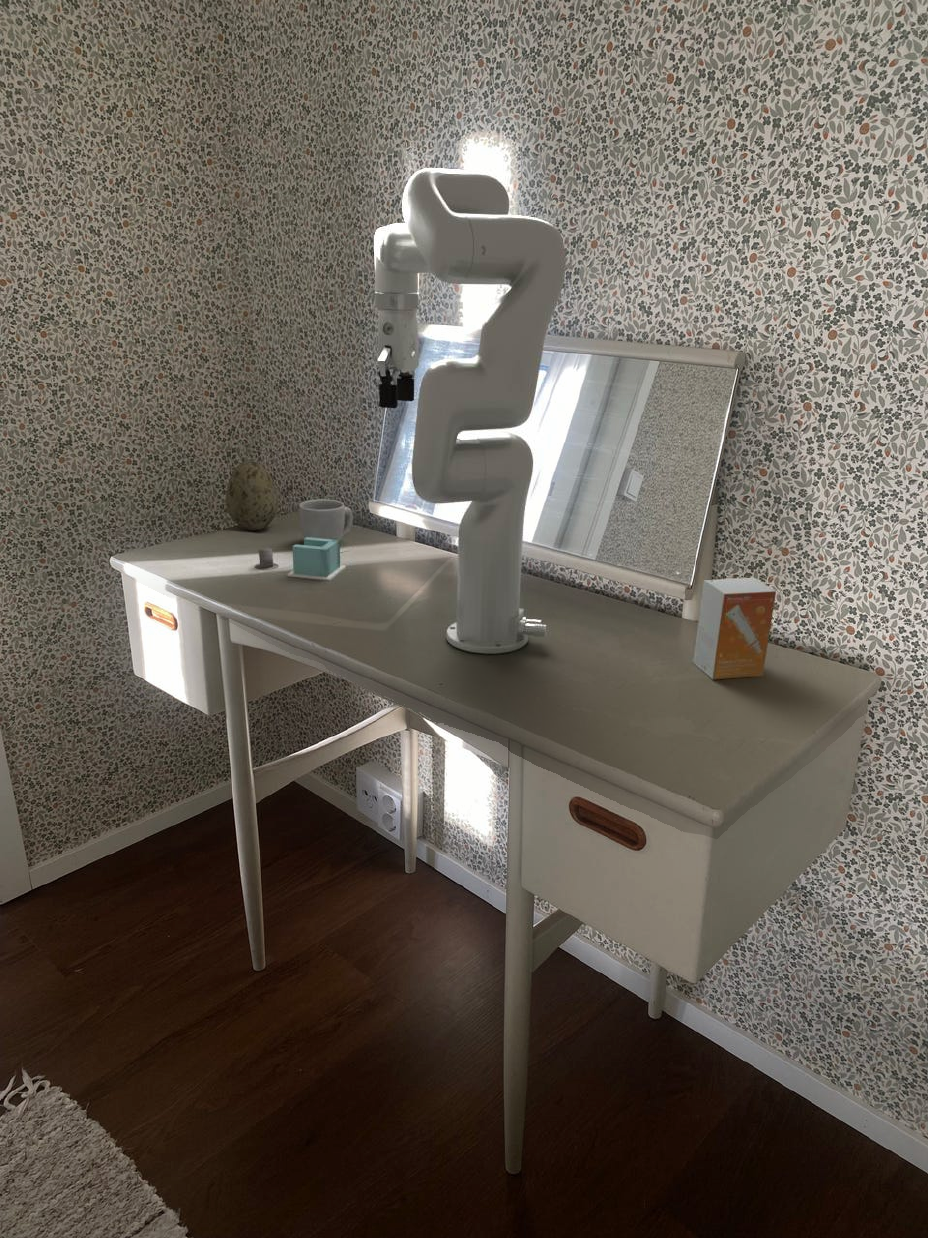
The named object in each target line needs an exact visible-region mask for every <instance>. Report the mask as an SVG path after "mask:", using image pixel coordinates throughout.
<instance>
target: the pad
mask: <svg viewBox="0 0 928 1238" xmlns="http://www.w3.org/2000/svg"><path fill="white" fill-rule="evenodd" d="M346 568H347V565H344V564H340V567H339V568H338V569H337V570H335V571H334V572H333V573H331V574H330V575H329V576H328V577H323V576H314V575H304V574H295V573H294V572H293V570H291V571H290V572H289V573H287V577H293V578H304V579H312V580H320V581H321V580H322V581H328V582H329V581H331V580H332V579H334V578H335V577H336V576H337V575H339V574H340V573H341V572H342V571H344V570H345V569H346Z"/></svg>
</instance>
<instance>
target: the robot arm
mask: <svg viewBox="0 0 928 1238" xmlns="http://www.w3.org/2000/svg"><path fill="white" fill-rule="evenodd" d="M403 191H404V192H403V197H402V216H403V219H404V223H392V224H389V225H387V226H382V227H379V228H377V229H376V231H375V234H374V291H375V292H374V295H375V296H374V301H375V302H374V303H375V304H374V305H375V306H374V308H375V313H378V325H377V367H378V370H377V371H378V372H377V375H378V396H379V397H378V398H379V400H378V401H379V402H378V403H379V405H378V406H379V407H380V408H382V409H383V408H384V409H397V408H398V405H399V404H398V402H399V401H400V402H413V401H415V374H416V373H415V370H416V369H417V368H419V365H420V353H419V352H420V349H419V332H418V331H419V330H418V329H419V328H418V319H417V318H418V317H417V314H419V305H420V304H419V301H420V300H419V299H420V298H419V297H420V296H419V291H420V290H419V289H420V288H419V287H420V285H419V283H420V282H419V281H420V280H419V279H420V274H423V275H424V274H427V275H428V274H429V275H431V274H432V275H433V276H434V277H435V278H436V279H438V280H440V281H441V282H443V283H446V284H453V285H508V286H509V288H508V290H506V291H505V293H503V294H502V295H501V296H500V297H499V298H498V299H497V301H496V302H495V303H494V304H493V306H492V307H491V308H490V310H489V312H488V313H487V314H486V316H485V318H484V320H483V322H482V326H481V331H480V339H479V347H478V351H477V353H476V354H475V356H474V357H472V358H451V359H448V358H447V359H443V360H438V361H436V362H435V363H434V362H433V364H431V365H430V366H429V367H428V368H427V370H425V373H424V374H423V377H422V379H421V383H420V387H419V393H418V398H417V409H416V417H415V428H414V438H413V446H412V447H413V448H412V459H411V477H412V479H411V480H412V485H413V488H414V491H415V492H416V495H417V496H418V497H419V498H420V499H421V500H423V501H424V502H426V503H430V504H450V503H451V504H453V503H465V502H470V504H469V505H468V506H467V509H466V510H465V512H464V514H463V516H462V518H461V520H460V523H459V527H458V537H457V538H458V541H457V542H458V544H457V583H456V584H457V587H456V591H457V592H456V593H457V594H456V621H455V622H454V623H452V624H450V625H449V627H447V628H446V640H447V642H448V643H449V644H450V645H451V646H453V647H455V648H457V649H460V650H462V651H466V652H470V653H475V654H476V653H477V654H487V655H488V654H490V655H491V654H493V655H494V654H495V655H496V654H505V653H509V652H513V651H517V650H520V649H521V648H523V647H524V646H525V645H527V643H528V641H529V636H532V637H539V638H546V636H547V632H548V629H547V628H548V625H547V624H542V619H533V618H532V619H531V618H530V619H529V618H528V617H527V616H524V614H525V611H524V610H525V609H524V608H521V607H520V602H521V601H520V600H521V598H520V597H521V581H522V580H521V579H522V578H521V577H522V559H523V557H522V556H523V555H522V554H523V539H524V538H523V537H524V522H525V514H526V513H525V510H526V505H527V504H526V503H527V498H528V494H529V490H530V487H531V480H532V476H533V471H534V457H533V452H532V449H531V447H530V445H529V444H528V442H527V441H526V440H525V439H524V438H523V437H521V436H519V435H517V434H513V433H510V432H504V431H495V430H504V429H505V430H506V429H511V428H512V429H513V428H517V427H519V426H522V425H523V424H524V423H526V422H527V420H529V417H530V416H531V413H532V411H533V410H532V409H533V405H534V402H535V396H536V389H537V386H538V380H539V373H540V368H541V362H542V358H543V350H544V347H545V346H544V345H545V344H544V343H545V339H546V335H547V330H548V329H549V325H550V322H551V320H552V316H553V314H554V311H555V309H556V307H557V304H558V302H559V299H560V296H561V293H562V289H563V286H564V282H565V276H566V275H565V274H566V265H567V264H566V263H567V260H566V259H567V258H566V249H565V243H564V241H563V237H562V236H561V233H560V232H559V230H558V229H557V228H556V227H555V225H552V224H551V223H550V222H548V221H546V220H544V219H541V218H536V217H532V216H525V215H514V214H509V212H510V209H511V201H510V200H511V199H510V195H509V193H508V190H507V188H506V185H504V183H503V182H502V181H501V180H500V179H499V178H498V177H495V175H492V174H490V173H487V172H484V171H478V170H477V171H476V170H467V169H466V170H465V169H464V170H463V169H450V168H439V167H438V168H436V167H435V168H434V167H429V168H427V167H426V168H423V169H420V170H418V171H416V172H415V173H414V174H413V175H412V176H411V177H410V178H409V179H408V182H407V183H406V185H405V188H404V190H403ZM491 430H492V431H491ZM472 431H488V432H472ZM490 431H491V432H490ZM462 432H470V433H462Z"/></svg>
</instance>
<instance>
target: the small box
mask: <svg viewBox="0 0 928 1238" xmlns="http://www.w3.org/2000/svg"><path fill="white" fill-rule="evenodd" d="M702 582H703V584H702V592H701V598H700V599H701V601H700V608H699V615H698V616H699V617H698V623H697V631H696V640H695V649H694V655H693V664H694V665H695V666H696V667H697V668H698V669H700V670H701V671H702V672H703V673H704V674H706V676H708V677H709V678H710V679H711V680H714V681H715V680H722V679H735V678H736V679H737V678H750V677H763V675H764V670H765V662H766V659H767V653H768V645H769V638H770V632H771V625H772V618H773V612H774V607H775V601H776V594H777V590H775V589H774V588H772V587H770V586H768V585H767V584H766V583H763V582H762V581H761V580H759V579H758V578H755V577H747V578H744V577H741V578H740V577H739V578H738V577H737V578H736V577H735V578H734V577H733V578H720V579H708V580H707V579H704V580H703V581H702Z"/></svg>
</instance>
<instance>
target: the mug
mask: <svg viewBox="0 0 928 1238" xmlns="http://www.w3.org/2000/svg"><path fill="white" fill-rule="evenodd" d="M298 511H299V513H298V514H299V523H300V528H301V533H302V537H303V540H304V539H305V538H306V537H311V538H321V539H332V540H340V542H341V540H342V539H343V538H344V537H346V536H348V535H349V533H350V531H351V529H352V525H353V522H354V517H353V511H352V509H351V508H350V507H348V506H345V503H344V502H342V501H340V500H335V499H322V498H321V499H318V498H317V499H309V500H305V501H302V502H301V503H299V507H298Z"/></svg>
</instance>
